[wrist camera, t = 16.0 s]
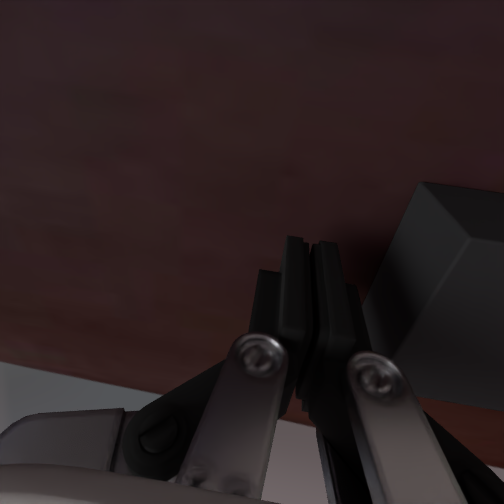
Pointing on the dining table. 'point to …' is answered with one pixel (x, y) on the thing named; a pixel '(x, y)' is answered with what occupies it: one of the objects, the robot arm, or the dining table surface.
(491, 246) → the dark grey square block
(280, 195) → the dining table surface
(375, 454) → the robot arm
